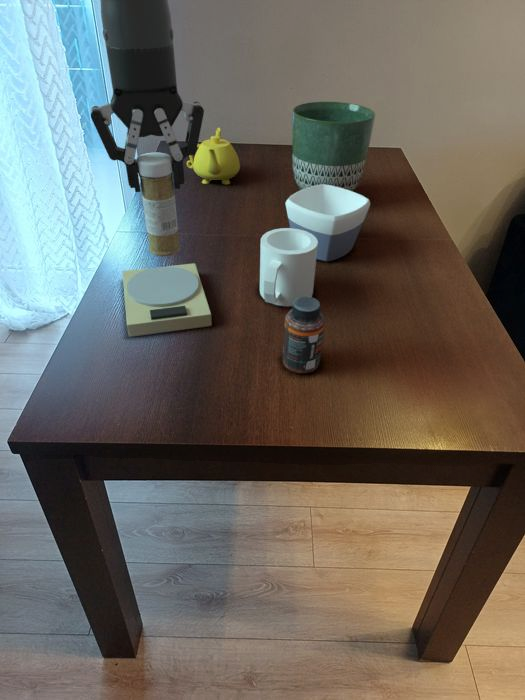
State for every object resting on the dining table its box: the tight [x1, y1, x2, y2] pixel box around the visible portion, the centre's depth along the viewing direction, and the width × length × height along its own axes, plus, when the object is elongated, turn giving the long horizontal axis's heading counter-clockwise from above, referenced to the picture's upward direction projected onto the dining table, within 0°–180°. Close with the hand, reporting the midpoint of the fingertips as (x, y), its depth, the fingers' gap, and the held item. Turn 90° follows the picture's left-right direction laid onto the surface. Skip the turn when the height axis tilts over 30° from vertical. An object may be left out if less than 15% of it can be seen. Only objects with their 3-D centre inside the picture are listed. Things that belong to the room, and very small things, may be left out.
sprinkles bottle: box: [135, 152, 181, 257], centre depth 68 cm, size 5×5×14 cm
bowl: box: [285, 184, 371, 262], centre depth 105 cm, size 15×15×11 cm
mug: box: [259, 227, 318, 307], centre depth 90 cm, size 14×10×11 cm
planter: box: [291, 101, 376, 192], centre depth 124 cm, size 20×20×21 cm
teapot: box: [186, 126, 241, 185], centre depth 136 cm, size 20×15×12 cm
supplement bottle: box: [282, 296, 326, 374], centre depth 75 cm, size 6×6×11 cm
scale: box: [121, 262, 213, 338], centre depth 90 cm, size 14×18×3 cm
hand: (157, 187), depth 66 cm, fingers closed on sprinkles bottle, 4 cm apart
